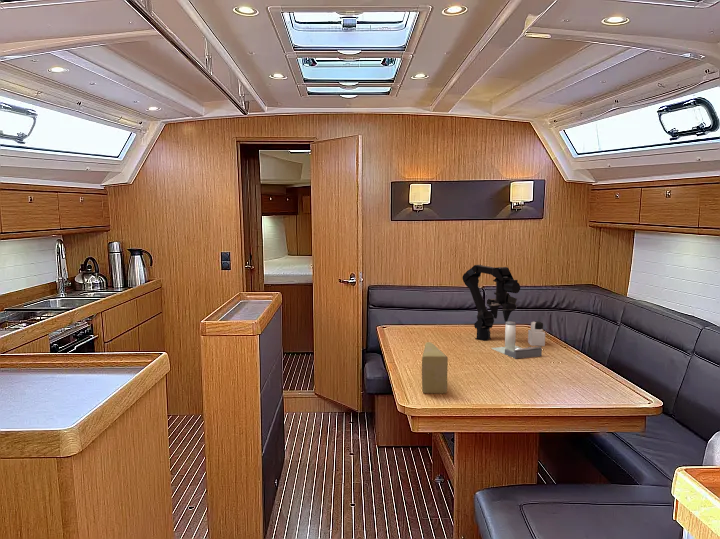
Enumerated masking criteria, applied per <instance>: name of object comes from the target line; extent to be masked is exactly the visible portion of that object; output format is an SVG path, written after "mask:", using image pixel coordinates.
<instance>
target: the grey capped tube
mask: <svg viewBox="0 0 720 539" xmlns="http://www.w3.org/2000/svg"><path fill="white" fill-rule="evenodd" d="M516 328H517V322H516V321H509V320H508V321H507V322H505V329H504V330H505V331H504V347H505V349H508V350H511V351H514V349H515V346H516V334H517V333H516V331H517V329H516Z"/></svg>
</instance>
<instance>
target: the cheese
mask: <svg viewBox="0 0 720 539" xmlns="http://www.w3.org/2000/svg"><path fill="white" fill-rule="evenodd" d="M448 362H449V358H448V355H447V354H446V353H444V352H443V351H442V350H440V349H439V348H438V347H437V346H436V345H435V344H434V343H433V342H431V341H427V342H425V343H424V349H423V352H422V357H421V385H422V389H421V390H422V393H423V394H447V392H448V368H449V367H448V364H449V363H448Z"/></svg>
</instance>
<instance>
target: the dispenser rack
mask: <svg viewBox="0 0 720 539" xmlns="http://www.w3.org/2000/svg"><path fill="white" fill-rule="evenodd" d="M542 347H543V346H528V347H521V348H519V349H514V352H513V351H511V350H508V349H505V354H504V355H505V356H507V355H508V356H507V357H510V358H512V357H513V359H514V358H515V359H514V360H519V359H518V358H520V359H527V358H528V359H529V358H537V357H542V356H543V355H542V353H543V351H542V350H543V348H542Z"/></svg>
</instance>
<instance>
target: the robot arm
mask: <svg viewBox="0 0 720 539" xmlns="http://www.w3.org/2000/svg"><path fill="white" fill-rule="evenodd" d="M481 274H487V275H491V276H492V277H494V279H493V280H492V281H493V283H494V282H496V284H495V291H494V292H493V294H494V295H495V298H488V299H486V304H485V301H484V297H483V295H482V293H481V290H480V288H479V282H480V280H479V278H480V277H481ZM461 278H462V280H463V283H464V285H465V286H466V288H468V289H469V291H470V294H471V297H472V299H473V303H474V305H475V308H476V311H477V315H476V318H477V321H476V322H474V324H473V326H474V329H476V337H475V338H474V339H475V340H481V341H489V340H491V329H493V326H494V322H495V319H498V311H499V310H498V309H499V307H500V306H501V307H502V309H501V310H502V315H503V319H504V320H503V321H504V322H505V323H506V322H507V321H509V318H510V315H511V314H512V312H514V311H515V310H517V304H516V303H517V300H518V298H516V297H513V296H511V294H510V293H512V294H518V293H519V292H520V290H521V285H520V283H519V282H518V279H515V278H514V277H513V275H512V273H511V270H510V268H509V267H508V266H502V267H501V266H500V267H499V266H498V267H493V266H487V265H483V264H475V265H473V266H472V267H471V268H469V269H468V270H466V272H465V273H463V275H462V277H461ZM486 305H487V306H486ZM487 307H488V308H489V310H488V309H487Z"/></svg>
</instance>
